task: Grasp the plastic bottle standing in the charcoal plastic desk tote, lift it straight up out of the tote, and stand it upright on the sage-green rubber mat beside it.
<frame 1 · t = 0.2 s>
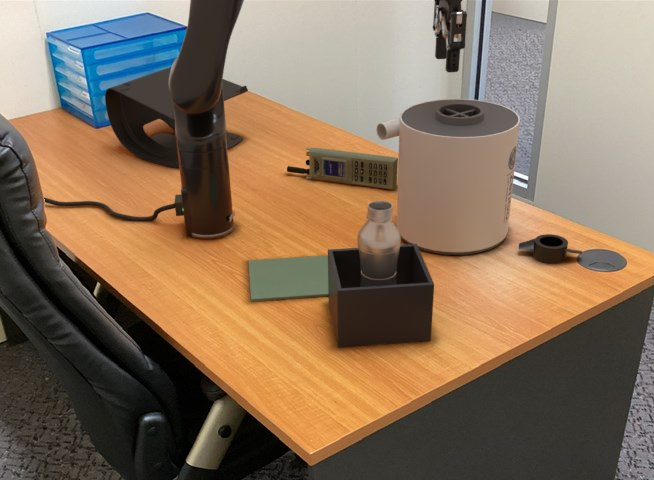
hand: (446, 65, 152), 29 cm above the table, tool pointing down, fingers open, 8 cm apart
humidifier: (440, 231, 162), on the table
laptop stand: (183, 146, 205), on the table
handheld radio: (340, 182, 184), on the table
plastic bottle: (377, 322, 136), resting in tote
black tabbed ring: (549, 257, 153), on the table
tote: (377, 321, 136), on the table
mat: (306, 277, 148), on the table
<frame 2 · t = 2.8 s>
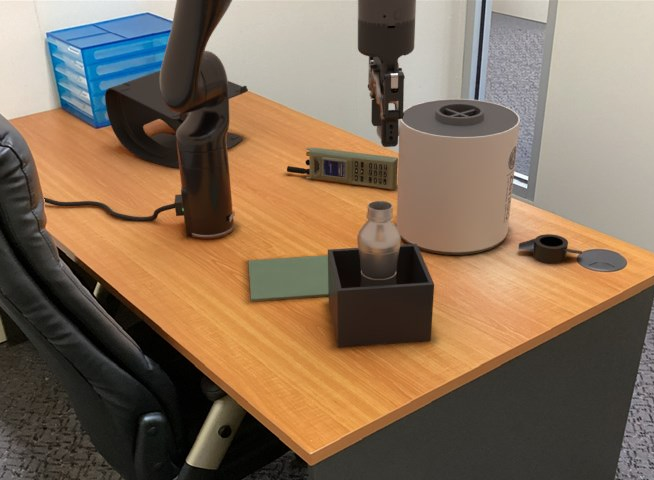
hand: (384, 135, 119), 30 cm above the table, tool pointing down, fingers open, 8 cm apart
nothing on the table moved.
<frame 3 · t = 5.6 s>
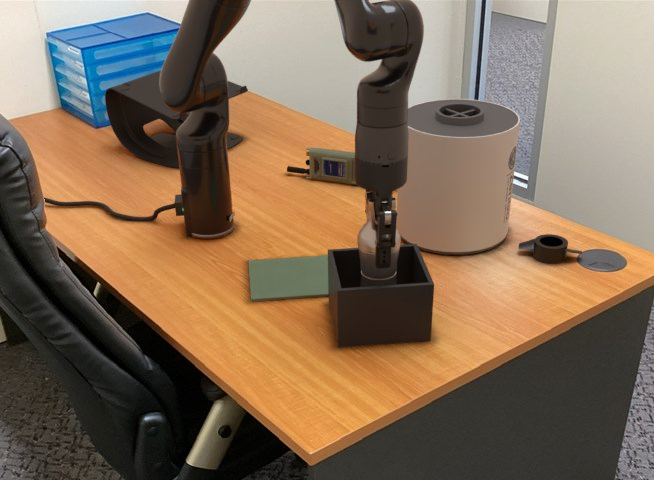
hand: (379, 256, 129), 12 cm above the table, tool pointing down, fingers closed on plastic bottle, 6 cm apart
plastic bottle: (377, 322, 136), resting in tote, touching gripper
everything else where it was.
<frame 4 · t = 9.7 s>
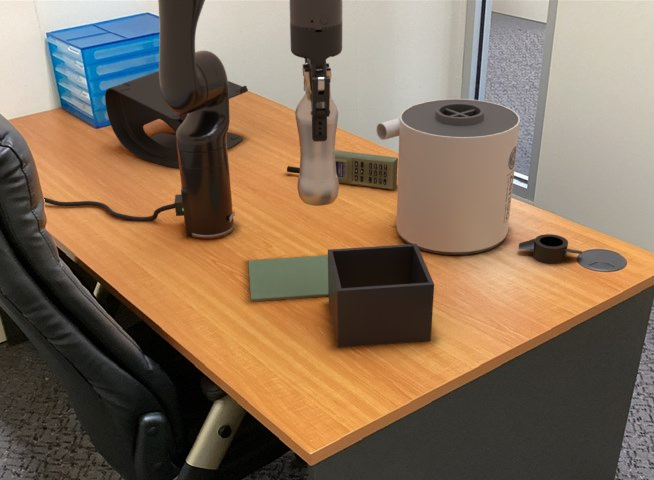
hand: (317, 132, 130), 27 cm above the table, tool pointing down, fingers closed on plastic bottle, 6 cm apart
plastic bottle: (318, 203, 137), point 15 cm above the table, touching gripper
everything else where it was.
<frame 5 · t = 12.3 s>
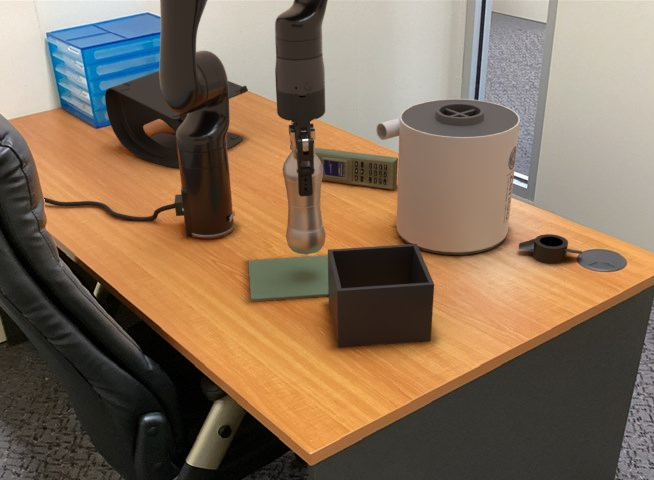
hand: (303, 186, 139), 17 cm above the table, tool pointing down, fingers closed on plastic bottle, 6 cm apart
plastic bottle: (306, 251, 146), point 5 cm above the table, touching gripper
everything else where it was.
when the fingers open (12 cm above the table, at t = 14.0 s): plastic bottle stays where it is, resting on mat.
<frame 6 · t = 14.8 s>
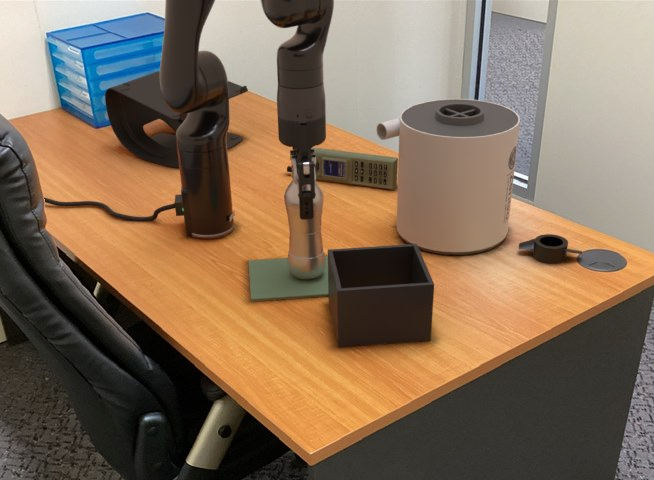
hand: (304, 207, 141), 13 cm above the table, tool pointing down, fingers open, 8 cm apart
plastic bottle: (306, 275, 148), resting on mat
everything else where it was.
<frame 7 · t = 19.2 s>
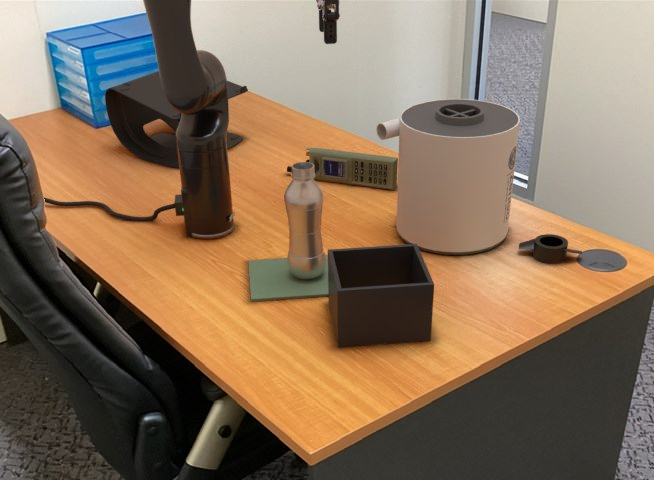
hand: (327, 37, 151), 34 cm above the table, tool pointing down, fingers open, 8 cm apart
nothing on the table moved.
at the end: plastic bottle inside the target area (0.1 cm from its centre), resting on mat; plastic bottle tilted 0°; the gripper is holding nothing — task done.
